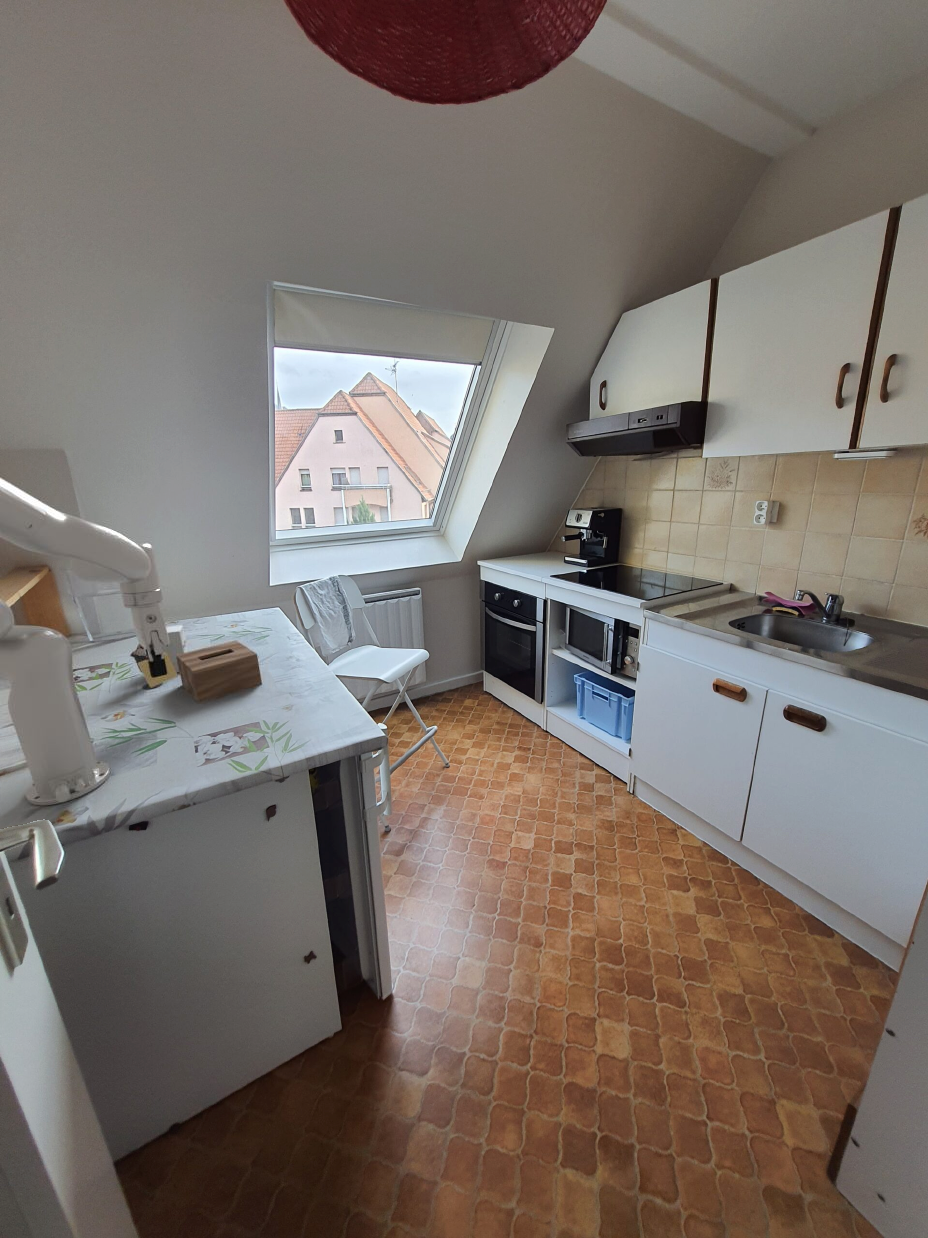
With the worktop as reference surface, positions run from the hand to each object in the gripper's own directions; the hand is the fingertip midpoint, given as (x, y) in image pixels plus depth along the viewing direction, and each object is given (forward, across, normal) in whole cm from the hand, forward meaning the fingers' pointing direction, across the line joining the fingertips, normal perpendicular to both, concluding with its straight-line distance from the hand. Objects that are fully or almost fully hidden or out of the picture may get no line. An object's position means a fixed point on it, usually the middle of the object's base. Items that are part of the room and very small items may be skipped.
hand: (158, 674), depth 113 cm
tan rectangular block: (+2, 0, -1) cm, 2 cm away
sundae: (+11, +25, -2) cm, 27 cm away
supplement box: (+11, +34, -10) cm, 37 cm away
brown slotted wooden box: (+11, +11, -16) cm, 22 cm away
